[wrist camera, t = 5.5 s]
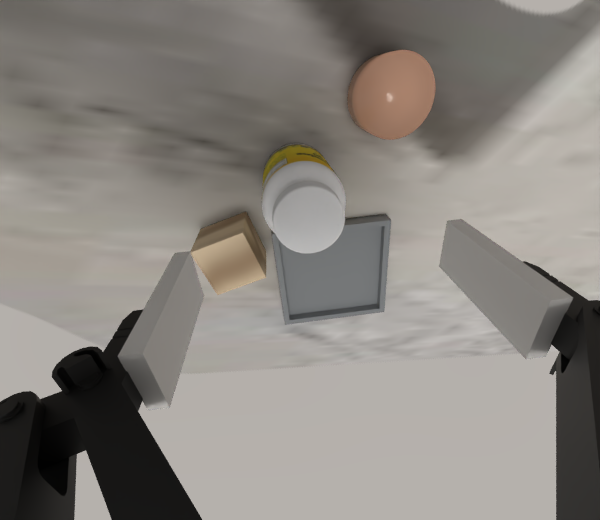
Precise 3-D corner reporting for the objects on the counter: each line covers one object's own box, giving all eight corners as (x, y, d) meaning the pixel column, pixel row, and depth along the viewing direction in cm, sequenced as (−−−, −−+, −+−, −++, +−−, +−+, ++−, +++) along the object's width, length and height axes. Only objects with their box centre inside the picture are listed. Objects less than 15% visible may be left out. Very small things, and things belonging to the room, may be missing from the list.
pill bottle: (341, 172, 29) (377, 217, 20) (297, 218, 31) (311, 279, 22) (293, 125, 26) (307, 151, 17) (249, 179, 28) (240, 228, 19)
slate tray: (271, 227, 31) (271, 234, 30) (385, 214, 32) (390, 219, 30) (284, 316, 37) (285, 324, 36) (380, 303, 38) (384, 311, 36)
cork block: (200, 228, 31) (190, 252, 26) (246, 211, 30) (242, 232, 26) (224, 267, 33) (217, 294, 29) (266, 251, 33) (266, 277, 28)
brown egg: (346, 57, 24) (357, 54, 21) (419, 50, 25) (441, 45, 22) (347, 136, 27) (357, 143, 24) (412, 129, 28) (429, 135, 25)
